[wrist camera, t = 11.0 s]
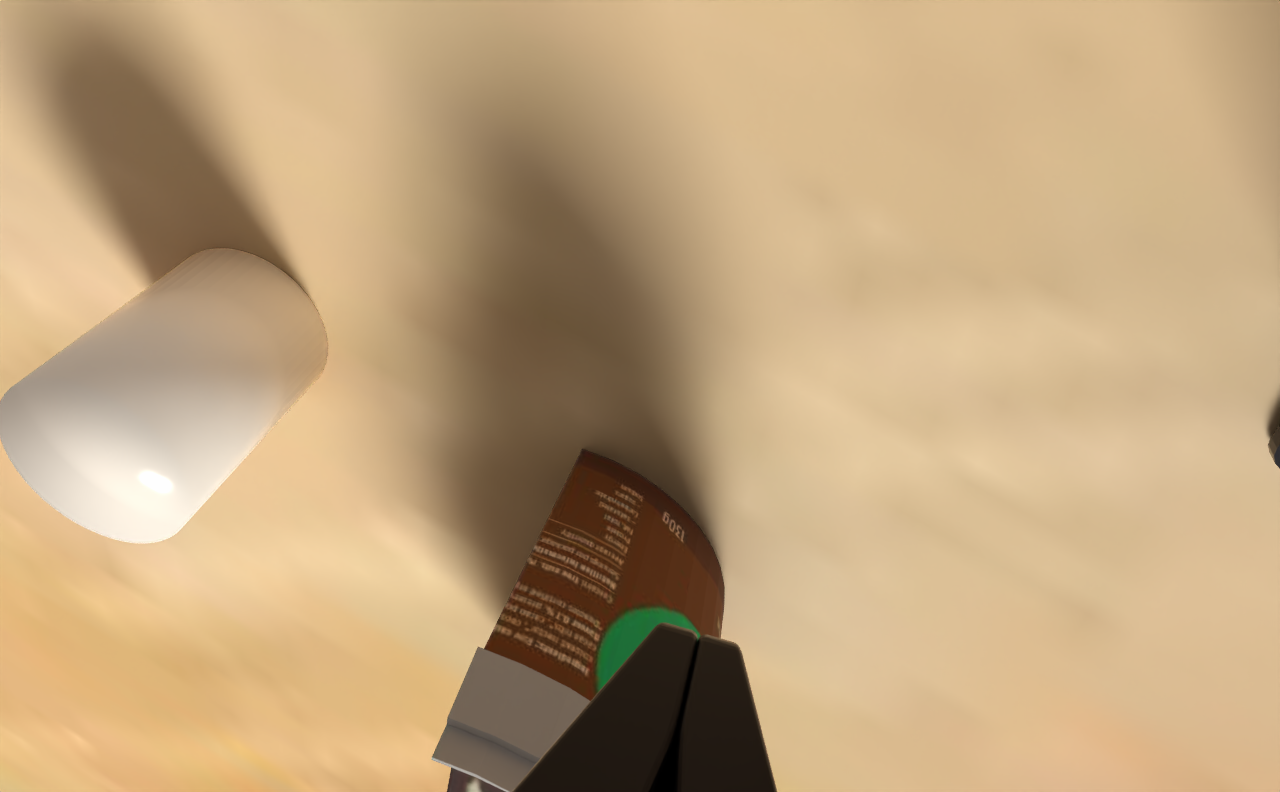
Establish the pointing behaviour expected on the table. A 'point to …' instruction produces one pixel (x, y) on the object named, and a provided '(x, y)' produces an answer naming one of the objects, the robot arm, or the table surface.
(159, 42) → the table surface
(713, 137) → the table surface
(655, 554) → the food container
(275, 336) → the white rounded cylinder
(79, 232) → the table surface
